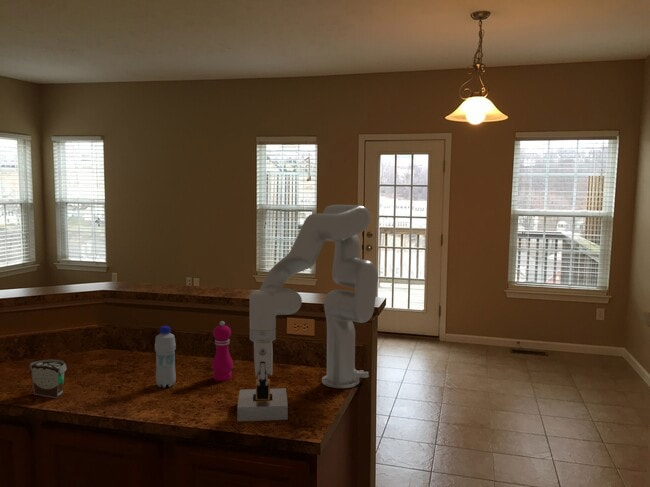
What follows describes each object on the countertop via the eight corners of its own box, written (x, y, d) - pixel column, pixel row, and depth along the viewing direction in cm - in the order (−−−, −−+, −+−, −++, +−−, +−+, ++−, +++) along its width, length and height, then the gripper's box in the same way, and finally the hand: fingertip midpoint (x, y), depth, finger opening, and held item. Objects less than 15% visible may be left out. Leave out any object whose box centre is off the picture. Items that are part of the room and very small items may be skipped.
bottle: (157, 382, 183) (156, 323, 181) (178, 381, 183) (177, 323, 181) (153, 389, 176) (152, 328, 174) (174, 388, 176) (173, 328, 175)
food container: (76, 392, 173) (75, 361, 172) (61, 399, 167) (60, 367, 166) (46, 387, 177) (45, 357, 176) (30, 393, 171) (29, 362, 170)
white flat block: (285, 400, 167) (285, 388, 167) (287, 419, 153) (287, 405, 153) (239, 402, 165) (239, 389, 165) (237, 421, 152) (237, 407, 151)
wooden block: (269, 407, 161) (269, 378, 160) (269, 413, 157) (269, 384, 156) (256, 408, 161) (256, 379, 160) (255, 414, 157) (255, 384, 156)
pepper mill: (228, 382, 183) (228, 323, 181) (208, 380, 185) (207, 322, 183) (236, 375, 190) (235, 319, 188) (216, 373, 192) (216, 318, 190)
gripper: (276, 341, 149) (276, 405, 151) (275, 326, 166) (275, 384, 168) (248, 342, 148) (248, 406, 150) (250, 327, 165) (250, 385, 167)
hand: (262, 394), depth 159 cm, fingers open, 5 cm apart
